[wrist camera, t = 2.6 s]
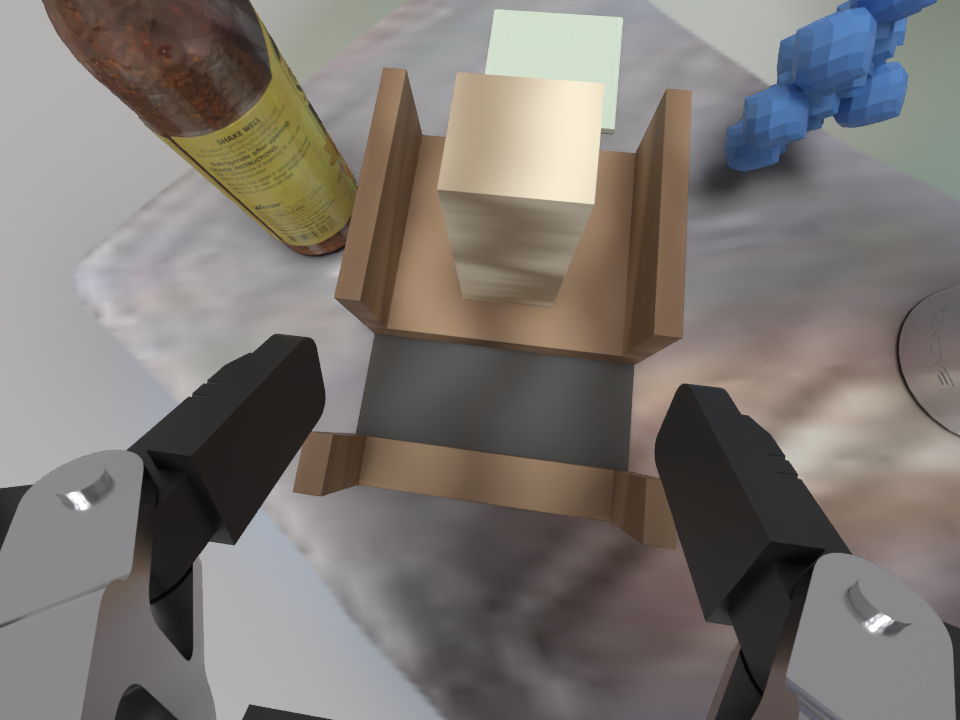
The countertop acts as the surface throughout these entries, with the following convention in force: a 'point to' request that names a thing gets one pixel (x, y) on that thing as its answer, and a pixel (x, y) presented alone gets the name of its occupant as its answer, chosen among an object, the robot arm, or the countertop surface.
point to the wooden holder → (508, 337)
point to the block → (518, 182)
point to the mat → (559, 50)
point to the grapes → (827, 80)
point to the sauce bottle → (220, 106)
